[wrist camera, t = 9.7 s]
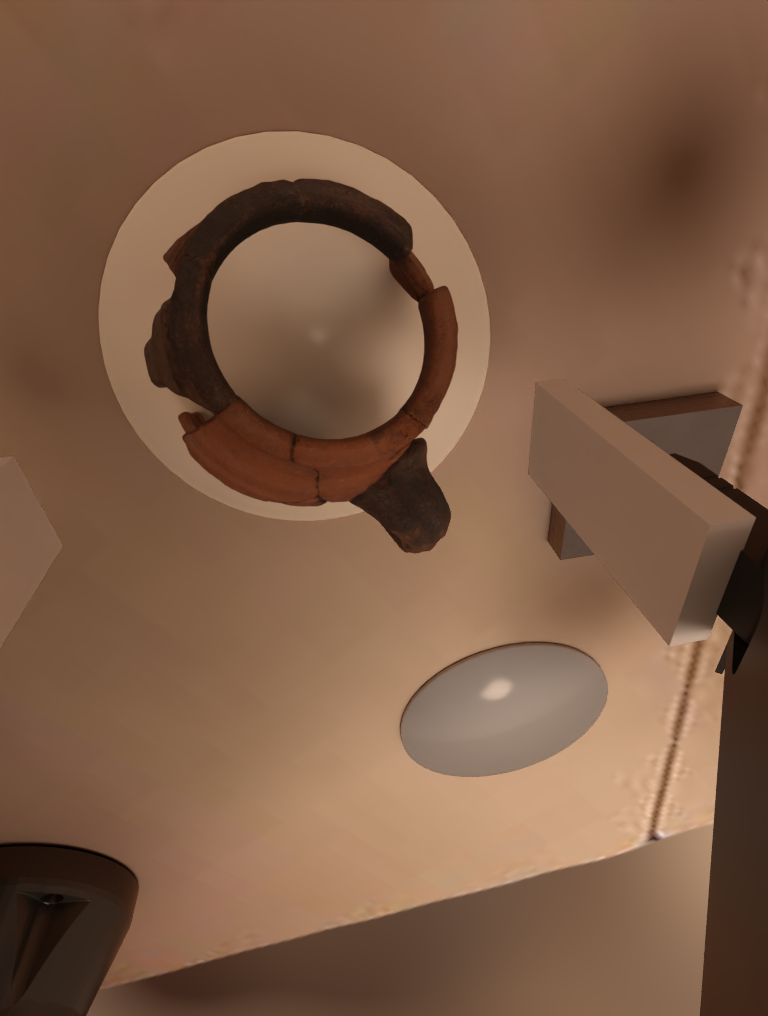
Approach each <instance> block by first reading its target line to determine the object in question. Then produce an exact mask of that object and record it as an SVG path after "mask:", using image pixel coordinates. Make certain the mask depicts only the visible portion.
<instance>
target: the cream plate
mask: <svg viewBox="0 0 768 1016" xmlns="http://www.w3.org/2000/svg"><path fill="white" fill-rule="evenodd" d="M302 178H304V179H320V180H331V181H334V182H337V183H341V184H344V185H347V186H350V187H353V188H355V189H358V190H359V191H361V192H363V193H365V194H366V195H368V196H370V197H372V198H374V199H377V200H379V201H381V202H383V203H384V204H386V205H387V206H389V207H390V208H392V209H393V210H394V211H395V212H397V213H398V214H399V215H401V216H402V217H404V218H405V219H406V221H407V222H408V223H409V224H410V225H411V227H412V233H413V248H412V252H413V253H414V255H415V256H416V257H417V258H418V260H419V261H420V262H421V264H422V265H423V267H424V268H425V270H426V273H427V274H428V276H429V277H430V279H431V281H432V283H433V286H434V289H436V288H438V287H441V286H447V287H448V289H449V291H450V293H451V297H452V300H453V304H454V308H455V314H456V319H457V323H458V349H457V358H456V367H455V371H454V373H453V377H452V380H451V383H450V386H449V388H448V390H447V393H446V395H445V397H444V399H443V401H442V402H441V405H440V408H439V409H438V411H437V412H436V413H435V415H434V417H433V419H432V422H431V423H430V425H429V427H428V428H427V429H424V430H423V432H422V433H421V434H419V435H418V436H417V437H416V438H415V439H417V438H424V439H425V440H426V442H427V464H428V468H429V471H430V473H431V472H432V471H433V470H434V469H435V468H436V467H437V466H438V465H439V464H440V463H441V462H442V461H443V460H444V458H445V457H446V456H447V455H448V454H449V453H450V451H451V450H452V449H453V448H454V446H455V445H456V443H457V442H458V440H459V439H460V437H461V436H462V434H463V433H464V431H465V430H466V428H467V426H468V424H469V422H470V420H471V418H472V416H473V414H474V412H475V410H476V407H477V404H478V401H479V398H480V396H481V393H482V390H483V386H484V382H485V377H486V373H487V369H488V361H489V351H490V318H489V311H488V305H487V298H486V292H485V289H484V286H483V282H482V279H481V275H480V272H479V268H478V266H477V264H476V261H475V259H474V257H473V255H472V252H471V250H470V248H469V246H468V243H467V242H466V240H465V238H464V237H463V235H462V233H461V232H460V230H459V229H458V227H457V225H456V224H455V222H454V220H453V219H452V218H451V216H450V215H449V214H448V213H447V211H446V210H445V209H444V208H443V207H442V205H441V204H440V203H439V202H438V200H437V199H436V198H435V197H434V196H433V195H432V194H431V193H430V192H429V191H428V190H427V189H426V188H425V187H423V186H422V185H421V184H420V183H419V182H418V181H417V180H416V179H415V178H414V177H413V176H411V175H410V174H408V173H407V172H405V171H404V170H402V169H401V168H400V167H398V166H397V165H395V164H394V163H392V162H391V161H389V160H388V159H386V158H384V157H382V156H380V155H378V154H376V153H374V152H372V151H370V150H368V149H366V148H364V147H362V146H360V145H357V144H353V143H350V142H347V141H344V140H341V139H337V138H334V137H331V136H326V135H319V134H313V133H306V132H299V131H281V132H262V133H256V134H250V135H245V136H239V137H234V138H232V139H229V140H226V141H223V142H220V143H217V144H215V145H212V146H209V147H206V148H204V149H202V150H201V151H199V152H197V153H195V154H194V155H192V156H190V157H188V158H186V159H185V160H183V161H181V162H179V163H178V164H177V165H175V166H174V167H173V168H172V169H170V170H169V171H168V172H167V173H165V174H164V175H163V176H162V177H160V178H159V179H158V180H157V181H155V182H154V184H153V185H152V186H151V187H150V188H149V189H148V190H147V191H146V193H145V194H144V195H143V196H142V197H141V198H140V199H139V200H138V202H137V203H136V204H135V205H134V207H133V208H132V210H131V212H130V213H129V215H128V216H127V218H126V220H125V221H124V223H123V224H122V226H121V227H120V229H119V231H118V234H117V236H116V238H115V241H114V243H113V245H112V248H111V250H110V252H109V255H108V258H107V262H106V266H105V270H104V274H103V278H102V282H101V289H100V300H99V310H98V315H99V336H100V344H101V349H102V354H103V360H104V365H105V368H106V371H107V374H108V377H109V380H110V383H111V386H112V389H113V392H114V394H115V396H116V398H117V400H118V402H119V404H120V407H121V409H122V411H123V413H124V415H125V416H126V418H127V419H128V421H129V422H130V424H131V426H132V427H133V429H134V430H135V432H136V433H137V435H138V436H139V437H140V439H141V440H142V441H143V442H144V444H145V445H146V446H147V447H148V448H149V450H150V451H151V452H152V453H153V454H154V455H155V456H156V457H157V458H158V459H159V460H160V461H161V462H162V463H163V464H164V465H165V466H166V467H167V468H168V469H169V470H170V471H171V472H173V473H174V474H175V475H177V476H178V477H179V478H181V479H182V480H183V481H184V482H186V483H187V484H188V485H190V486H191V487H193V488H195V489H196V490H198V491H200V492H201V493H203V494H205V495H206V496H208V497H210V498H212V499H214V500H216V501H218V502H221V503H223V504H225V505H227V506H229V507H232V508H235V509H238V510H241V511H244V512H247V513H250V514H254V515H259V516H263V517H267V518H273V519H281V520H290V521H317V520H328V519H335V518H340V517H345V516H350V515H354V514H357V513H361V512H364V510H362V509H361V508H359V507H357V506H355V505H353V504H352V503H350V502H349V501H347V502H328V501H327V502H326V503H325V504H323V505H321V506H305V507H303V506H290V505H285V504H282V503H275V502H270V501H268V502H265V501H261V500H258V499H254V498H251V497H249V496H246V495H243V494H241V493H239V492H237V491H235V490H233V489H231V488H229V487H227V486H226V485H224V484H223V483H222V482H221V481H220V480H218V479H217V478H215V477H214V476H212V475H211V474H210V473H208V472H207V471H206V470H205V469H204V468H203V467H201V465H200V464H199V463H197V462H196V461H195V460H194V459H193V458H192V457H191V455H190V454H189V451H188V449H187V446H186V444H185V442H184V441H183V439H182V436H183V435H184V434H185V431H184V429H183V428H182V426H181V424H180V422H179V420H178V415H179V414H181V413H182V412H190V413H194V412H199V413H201V415H202V416H203V418H204V419H205V421H207V420H209V419H210V418H212V417H213V416H214V414H213V413H212V412H210V411H208V410H206V409H205V408H203V407H202V406H200V405H198V404H196V403H194V402H193V401H191V400H190V399H188V398H185V397H182V396H179V395H177V394H175V393H173V392H172V391H170V390H169V389H168V388H167V387H166V388H158V387H156V386H155V385H154V384H153V383H152V382H151V380H150V377H149V374H148V370H147V366H146V361H145V356H144V347H145V345H146V343H147V342H148V341H149V339H150V338H151V335H152V324H153V320H154V317H155V315H156V313H157V312H158V311H159V310H160V308H161V306H162V304H163V303H164V302H165V301H166V300H168V299H169V298H171V296H172V293H173V290H174V285H175V280H176V277H175V275H174V274H173V272H172V271H171V270H170V268H169V266H168V264H167V263H166V262H165V261H164V259H163V255H164V254H165V253H166V252H167V251H168V249H169V248H170V247H171V246H172V245H173V244H174V242H175V241H176V240H177V239H178V238H180V237H181V236H182V235H184V234H185V233H186V232H187V231H189V230H190V229H191V228H193V227H194V226H196V225H197V224H198V223H200V222H201V221H202V220H203V219H204V218H205V217H206V215H207V214H209V213H210V212H211V211H212V210H213V209H214V208H215V207H216V206H217V205H218V204H220V203H221V202H222V201H224V200H226V199H227V198H228V197H230V196H232V195H234V194H237V193H239V192H241V191H243V190H245V189H249V188H251V187H253V186H255V185H257V184H259V183H261V182H272V181H277V180H282V179H284V180H288V181H290V182H294V181H295V180H297V179H302ZM207 320H208V330H209V337H210V342H211V347H212V351H213V354H214V356H215V359H216V361H217V364H218V366H219V368H220V370H221V372H222V374H223V375H224V377H225V379H226V380H227V382H228V384H229V385H230V387H231V388H232V389H233V391H234V392H235V394H236V395H238V396H239V397H240V398H242V399H243V400H244V401H245V402H246V403H247V404H248V405H249V406H250V407H251V408H252V409H253V410H254V411H256V412H257V413H258V414H259V415H261V416H262V417H264V418H265V419H267V420H268V421H270V422H272V423H274V424H275V425H277V426H279V427H281V428H284V429H286V430H289V431H291V432H293V433H295V434H298V435H303V436H307V437H312V438H319V439H343V438H348V437H354V436H359V435H361V434H364V433H367V432H369V431H371V430H373V429H375V428H377V427H379V426H381V425H382V424H384V423H386V422H387V421H389V420H390V419H391V418H393V417H394V416H395V415H396V414H397V413H398V411H399V409H400V408H401V407H402V406H403V405H404V404H405V403H406V401H407V400H408V399H409V397H410V396H411V394H412V393H413V391H414V388H415V386H416V384H417V381H418V379H419V376H420V373H421V369H422V364H423V357H424V332H423V325H422V320H421V316H420V312H419V309H418V302H417V301H415V300H414V299H413V298H411V296H410V295H409V294H408V293H407V292H406V291H405V290H404V289H403V288H402V286H401V285H400V284H399V283H398V282H397V281H396V280H395V279H394V277H393V276H392V274H391V272H390V269H389V259H388V258H387V257H386V256H385V255H384V254H383V253H382V252H380V251H379V250H378V249H377V248H375V247H374V246H373V245H371V244H370V243H368V242H366V241H365V240H363V239H361V238H360V237H358V236H356V235H354V234H352V233H350V232H348V231H345V230H342V229H340V228H337V227H333V226H328V225H324V224H315V223H301V222H294V223H287V224H279V225H274V226H271V227H269V228H267V229H264V230H261V231H259V232H257V233H255V234H253V235H252V236H250V237H249V238H247V239H245V240H244V241H243V242H241V243H240V244H239V245H238V246H237V247H236V248H235V249H234V250H233V251H232V252H231V253H230V254H229V255H228V256H227V258H226V259H225V260H224V262H223V263H222V265H221V266H220V268H219V269H218V271H217V273H216V275H215V277H214V279H213V281H212V284H211V289H210V294H209V301H208V311H207Z"/></svg>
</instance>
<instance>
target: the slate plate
mask: <svg viewBox="0 0 768 1016" xmlns="http://www.w3.org/2000/svg"><path fill="white" fill-rule="evenodd" d="M607 694H608V684H607V681H606V677H605V675H604V673H603V671H602V670H601V668H600V666H599V665H598V664H597V663H596V662H595V661H594V660H593V659H592V658H591V657H589V656H588V655H587V654H585V653H583V652H581V651H579V650H577V649H574V648H571V647H568V646H565V645H559V644H554V643H541V642H536V643H520V644H512V645H506V646H502V647H497V648H493V649H490V650H486V651H483V652H480V653H477V654H475V655H472V656H470V657H467V658H465V659H463V660H461V661H459V662H457V663H455V664H453V665H451V666H449V667H448V668H446V669H444V670H443V671H441V672H440V673H438V674H437V675H436V676H434V677H433V678H432V679H430V680H429V681H428V682H427V683H426V684H425V685H424V686H423V687H421V688H420V689H419V690H418V692H417V693H416V694H415V695H414V696H413V698H412V699H411V701H410V702H409V704H408V705H407V707H406V709H405V711H404V714H403V716H402V720H401V725H400V733H401V739H402V743H403V746H404V748H405V750H406V752H407V753H408V755H409V756H410V757H411V758H412V759H413V760H414V761H415V762H416V763H418V764H419V765H421V766H423V767H424V768H427V769H429V770H431V771H434V772H437V773H441V774H445V775H451V776H460V777H480V776H490V775H497V774H502V773H507V772H511V771H515V770H518V769H522V768H525V767H528V766H531V765H533V764H536V763H538V762H541V761H543V760H545V759H547V758H549V757H551V756H553V755H555V754H557V753H559V752H560V751H562V750H564V749H565V748H567V747H568V746H570V745H571V744H572V743H574V742H575V741H576V740H578V739H579V738H580V737H581V736H582V735H583V734H585V733H586V732H587V731H588V730H589V728H590V727H591V726H592V725H593V724H594V723H595V721H596V720H597V719H598V717H599V716H600V714H601V712H602V710H603V708H604V706H605V703H606V700H607Z"/></svg>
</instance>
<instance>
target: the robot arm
mask: <svg viewBox="0 0 768 1016" xmlns="http://www.w3.org/2000/svg"><path fill="white" fill-rule="evenodd" d="M528 474H529V475H530V476H531V478H532V479H533V480H534V481H535V482H536V484H537V485H538V486H539V487H540V489H541V490H542V491H543V492H544V493H545V495H546V496H547V497H548V498H549V500H550V501H551V502H552V503H553V505H554V506H555V507H556V508H557V509H558V511H559V512H560V513H561V514H562V516H563V517H564V518H565V519H566V520H567V522H568V523H569V524H570V525H571V527H572V528H573V529H574V530H575V531H576V533H577V534H578V535H579V536H580V538H581V539H582V540H583V541H584V542H585V544H586V545H587V546H588V547H589V549H590V550H591V551H592V552H593V553H594V555H595V556H596V557H597V558H598V560H599V561H600V562H601V563H602V564H603V566H604V567H605V568H606V569H607V571H608V572H609V573H610V574H611V576H612V577H613V578H614V579H615V580H616V582H617V583H618V584H619V585H620V587H621V588H622V589H623V590H624V591H625V593H626V594H627V595H628V596H629V598H630V599H631V600H632V601H633V602H634V604H635V605H636V606H637V607H638V609H639V610H640V611H641V612H642V613H643V615H644V616H645V617H646V618H647V620H648V621H649V622H650V623H651V624H652V626H653V627H654V628H655V629H656V631H657V632H658V633H659V634H660V635H661V637H662V638H663V639H664V640H665V642H666V643H667V644H668V645H669V646H674V645H679V644H684V643H690V642H695V641H700V640H705V639H708V638H709V635H710V633H711V630H712V628H713V625H714V622H715V620H716V617H717V615H718V616H719V617H720V618H721V619H722V620H723V621H724V622H725V623H726V624H727V625H728V626H729V627H730V628H731V629H732V630H733V631H732V633H731V636H730V638H729V640H728V643H727V645H726V647H725V650H724V652H723V654H722V657H721V659H720V661H719V664H718V666H717V668H716V670H715V672H717V673H720V674H722V673H723V671H724V669H725V676H724V690H723V704H722V717H721V731H720V745H719V759H718V773H717V786H716V800H715V814H714V829H713V842H712V855H711V869H710V883H709V898H708V911H707V925H706V938H705V939H706V940H705V952H704V966H703V980H702V994H701V1007H700V1016H768V509H766V508H765V507H763V506H762V505H760V504H759V503H758V502H756V501H755V500H753V499H752V498H750V497H749V496H747V495H746V494H744V493H743V492H742V491H740V490H739V489H734V488H733V485H731V484H730V483H728V482H727V481H726V480H724V479H723V478H718V475H717V474H715V473H714V472H712V471H711V470H710V469H708V468H707V467H705V466H704V465H702V464H701V463H699V462H697V461H694V460H691V459H689V458H686V457H684V456H681V455H678V454H676V453H673V454H667V453H666V452H665V451H663V450H662V449H660V448H659V447H658V446H656V445H655V444H654V443H652V442H651V441H649V440H648V439H647V438H645V437H644V436H642V435H641V434H640V433H638V432H637V431H636V430H634V429H633V428H631V427H630V426H629V425H627V424H626V423H624V422H623V421H622V420H620V419H619V418H618V417H616V416H615V415H613V414H612V413H611V412H609V411H608V410H606V409H605V408H604V407H602V406H601V405H600V404H598V403H597V402H595V401H594V400H593V399H591V398H590V397H588V396H587V395H586V394H584V393H583V392H582V391H580V390H579V389H577V388H576V387H575V386H573V385H572V384H570V383H569V382H568V381H566V380H565V379H557V380H550V381H543V382H536V386H535V398H534V409H533V421H532V433H531V444H530V456H529V468H528ZM62 547H63V545H62V543H61V541H60V539H59V538H58V536H57V534H56V532H55V530H54V529H53V527H52V525H51V523H50V521H49V519H48V518H47V516H46V514H45V512H44V510H43V509H42V507H41V505H40V503H39V501H38V500H37V498H36V496H35V494H34V492H33V490H32V489H31V487H30V485H29V483H28V481H27V480H26V478H25V476H24V474H23V472H22V471H21V469H20V467H19V465H18V463H17V461H16V460H15V458H14V456H8V457H1V458H0V648H1V646H2V645H3V643H4V641H5V640H6V638H7V636H8V635H9V633H10V632H11V630H12V628H13V627H14V625H15V623H16V622H17V620H18V619H19V617H20V615H21V614H22V612H23V610H24V609H25V607H26V606H27V604H28V602H29V601H30V599H31V597H32V596H33V594H34V592H35V591H36V589H37V588H38V586H39V584H40V583H41V581H42V579H43V578H44V576H45V575H46V573H47V571H48V570H49V568H50V566H51V565H52V563H53V562H54V560H55V558H56V557H57V555H58V553H59V552H60V550H61V549H62ZM137 895H138V883H137V881H136V879H135V878H134V876H133V875H132V874H131V873H130V872H129V871H128V870H126V869H125V868H124V867H122V866H120V865H119V864H117V863H115V862H113V861H110V860H108V859H106V858H103V857H100V856H97V855H93V854H89V853H85V852H81V851H76V850H70V849H63V848H54V847H40V846H13V847H0V1016H86V1015H87V1013H88V1011H89V1009H90V1007H91V1005H92V1003H93V1001H94V999H95V997H96V995H97V993H98V991H99V989H100V987H101V985H102V983H103V981H104V979H105V977H106V975H107V973H108V971H109V969H110V967H111V965H112V963H113V961H114V959H115V957H116V955H117V953H118V950H119V948H120V946H121V944H122V942H123V940H124V938H125V936H126V934H127V932H128V930H129V928H130V925H131V922H132V918H133V913H134V909H135V904H136V900H137Z"/></svg>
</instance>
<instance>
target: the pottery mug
mask: <svg viewBox="0 0 768 1016" xmlns="http://www.w3.org/2000/svg"><path fill="white" fill-rule="evenodd" d="M294 222H301V223H315V224H324V225H328V226H333V227H337V228H340V229H342V230H345V231H348V232H350V233H352V234H354V235H356V236H358V237H360V238H361V239H363V240H365V241H366V242H368V243H370V244H371V245H373V246H374V247H375V248H377V249H378V250H379V251H380V252H382V253H383V254H384V255H385V256H386V257H387V258H388V259H389V269H390V272H391V274H392V276H393V277H394V279H395V280H396V281H397V282H398V283H399V284H400V285H401V286H402V288H403V289H404V290H405V291H406V292H407V293H408V294H409V295H410V296H411V298H413V299H414V300H415V301H417V302H418V309H419V312H420V316H421V320H422V325H423V332H424V357H423V364H422V369H421V373H420V376H419V379H418V381H417V384H416V386H415V388H414V391H413V393H412V394H411V396H410V397H409V399H408V400H407V401H406V403H405V404H404V405H403V406H402V407H401V408H400V409H399V411H398V413H397V414H396V415H395V416H394V417H393V418H391V419H390V420H389V421H387V422H386V423H384V424H382V425H381V426H379V427H377V428H375V429H373V430H371V431H369V432H367V433H364V434H361V435H359V436H354V437H348V438H343V439H319V438H312V437H307V436H303V435H298V434H295V433H293V432H291V431H289V430H286V429H284V428H281V427H279V426H277V425H275V424H274V423H272V422H270V421H268V420H267V419H265V418H264V417H262V416H261V415H259V414H258V413H257V412H256V411H254V410H253V409H252V408H251V407H250V406H249V405H248V404H247V403H246V402H245V401H244V400H243V399H242V398H240V397H239V396H238V395H236V394H235V392H234V391H233V389H232V388H231V387H230V385H229V384H228V382H227V380H226V379H225V377H224V375H223V374H222V372H221V370H220V368H219V366H218V364H217V361H216V359H215V356H214V354H213V351H212V347H211V342H210V337H209V330H208V320H207V311H208V301H209V294H210V289H211V284H212V281H213V279H214V277H215V275H216V273H217V271H218V269H219V268H220V266H221V265H222V263H223V262H224V260H225V259H226V258H227V256H228V255H229V254H230V253H231V252H232V251H233V250H234V249H235V248H236V247H237V246H238V245H239V244H240V243H241V242H243V241H244V240H245V239H247V238H249V237H250V236H252V235H253V234H255V233H257V232H259V231H261V230H264V229H267V228H269V227H271V226H274V225H279V224H287V223H294ZM412 248H413V233H412V227H411V225H410V224H409V223H408V222H407V221H406V219H405V218H404V217H402V216H401V215H399V214H398V213H397V212H395V211H394V210H393V209H392V208H390V207H389V206H387V205H386V204H384V203H383V202H381V201H379V200H377V199H374V198H372V197H370V196H368V195H366V194H365V193H363V192H361V191H359V190H358V189H355V188H353V187H350V186H347V185H344V184H341V183H337V182H334V181H331V180H320V179H304V178H302V179H297V180H295V181H294V182H290V181H288V180H284V179H282V180H277V181H272V182H261V183H259V184H257V185H255V186H253V187H251V188H249V189H245V190H243V191H241V192H239V193H237V194H234V195H232V196H230V197H228V198H227V199H226V200H224V201H222V202H221V203H220V204H218V205H217V206H216V207H215V208H214V209H213V210H212V211H211V212H210V213H209V214H207V215H206V217H205V218H204V219H203V220H202V221H201V222H200V223H198V224H197V225H196V226H194V227H193V228H191V229H190V230H189V231H187V232H186V233H185V234H184V235H182V236H181V237H180V238H178V239H177V240H176V241H175V242H174V244H173V245H172V246H171V247H170V248H169V249H168V251H167V252H166V253H165V254H164V255H163V259H164V261H165V262H166V263H167V264H168V266H169V268H170V270H171V271H172V272H173V274H174V275H175V277H176V280H175V285H174V290H173V293H172V296H171V298H169V299H168V300H166V301H165V302H164V303H163V304H162V306H161V308H160V310H159V311H158V312H157V313H156V315H155V317H154V320H153V324H152V335H151V338H150V339H149V341H148V342H147V343H146V345H145V347H144V356H145V361H146V366H147V370H148V374H149V377H150V380H151V382H152V383H153V384H154V385H155V386H156V387H158V388H166V387H167V388H168V389H169V390H170V391H172V392H173V393H175V394H177V395H179V396H182V397H185V398H188V399H190V400H191V401H193V402H194V403H196V404H198V405H200V406H202V407H203V408H205V409H206V410H208V411H210V412H212V413H213V414H214V416H213V417H212V418H210V419H209V420H207V421H205V419H204V418H203V416H202V415H201V413H199V412H194V413H190V412H182V413H181V414H179V415H178V420H179V422H180V424H181V426H182V428H183V429H184V431H185V434H184V435H183V436H182V439H183V441H184V442H185V444H186V446H187V449H188V451H189V454H190V455H191V457H192V458H193V459H194V460H195V461H196V462H197V463H199V464H200V465H201V467H203V468H204V469H205V470H206V471H207V472H208V473H210V474H211V475H212V476H214V477H215V478H217V479H218V480H220V481H221V482H222V483H223V484H224V485H226V486H227V487H229V488H231V489H233V490H235V491H237V492H239V493H241V494H243V495H246V496H249V497H251V498H254V499H258V500H261V501H265V502H268V501H270V502H275V503H282V504H285V505H290V506H303V507H305V506H321V505H323V504H325V503H326V502H327V501H328V502H347V501H349V502H350V503H352V504H353V505H355V506H357V507H359V508H361V509H362V510H364V511H365V512H367V513H368V514H370V515H371V516H373V517H374V518H375V519H376V520H378V521H379V522H380V523H381V525H382V526H383V527H384V528H385V530H386V531H387V532H388V533H389V535H390V536H391V537H392V538H393V539H394V541H395V542H396V543H397V544H398V546H399V547H400V548H401V549H402V550H403V551H404V552H411V553H420V552H424V551H429V550H431V549H432V548H433V547H434V546H435V545H436V543H437V542H438V541H439V540H440V539H441V538H443V537H444V536H445V534H446V532H447V529H448V526H449V523H450V519H451V512H450V508H449V505H448V503H447V501H446V499H445V497H444V495H443V492H442V491H441V489H440V487H439V486H438V484H437V483H436V481H435V480H434V478H433V477H432V475H431V473H430V471H429V468H428V464H427V442H426V440H425V439H424V438H417V439H415V438H416V437H417V436H418V435H419V434H421V433H422V432H423V430H424V429H427V428H428V427H429V425H430V423H431V422H432V419H433V417H434V415H435V413H436V412H437V411H438V409H439V408H440V405H441V402H442V401H443V399H444V397H445V395H446V393H447V390H448V388H449V386H450V383H451V380H452V377H453V373H454V371H455V367H456V358H457V349H458V323H457V319H456V314H455V308H454V304H453V300H452V297H451V293H450V291H449V289H448V287H447V286H441V287H438V288H436V289H434V286H433V283H432V281H431V279H430V277H429V276H428V274H427V273H426V270H425V268H424V267H423V265H422V264H421V262H420V261H419V260H418V258H417V257H416V256H415V255H414V253H413V252H412Z"/></svg>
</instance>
